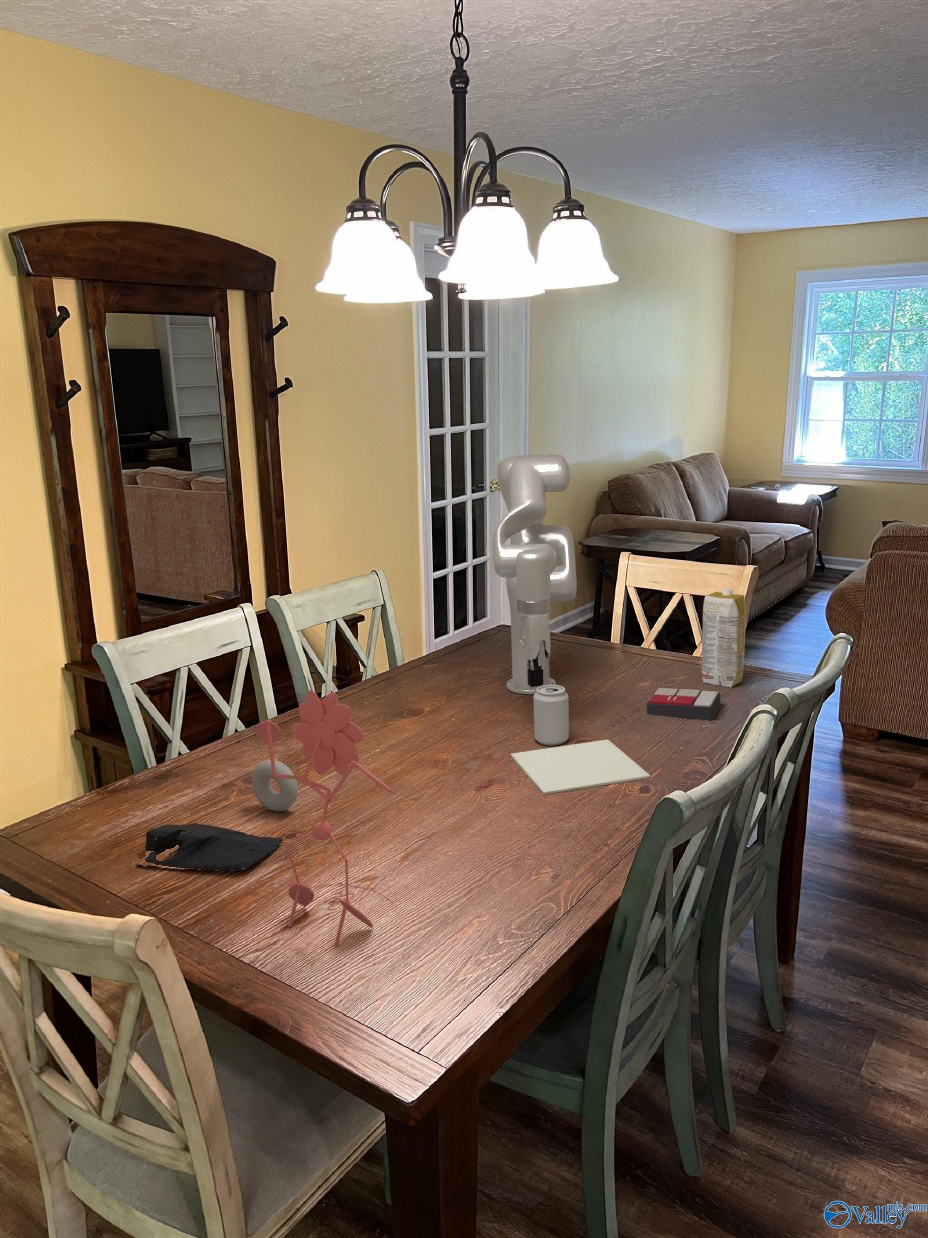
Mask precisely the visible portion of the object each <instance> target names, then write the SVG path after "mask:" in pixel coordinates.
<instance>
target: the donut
mask: <svg viewBox="0 0 928 1238" xmlns="http://www.w3.org/2000/svg"><path fill="white" fill-rule="evenodd" d="M274 762H275V771H276V773H275V774H283V775H294V776H295V774H294V773H293V771H292V770H291V769H290V767H289V766H287V765H286V764H285V763H284V762H282V761H279V760H277V759H274ZM273 775H274V774H272V768H271V760H270V759H267V760H265V761H262V762H259V764H258V765H257V766H255V768H254V770H253V772H252V775H251V786H252V792H253V795H254V796H255V798H256V799H257V801H258V802H259V803H260V805H262V806H263V807H264V808H265V809H267V810H269V809H270V811H272V810H274V811H273V812H280V811H282V812H284V811H286V810H289V809H290V808H291V807H293V805H294V804H295V803H296V801H297V799H298V796H299V784H298V781H297V779H285V778H274V777H273ZM271 779H273V780H274V781H276V783H277V785H278V787H279V793H278V792H276V791H275V790H274V789H273V788H272V786H271V783H270V781H271Z"/></svg>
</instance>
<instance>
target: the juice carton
mask: <svg viewBox="0 0 928 1238" xmlns="http://www.w3.org/2000/svg"><path fill="white" fill-rule="evenodd" d="M733 592H734V591H733V589H729V588H728V589H727V588H723V589H722V590H721V591H714V592H712V593H709V594H707V595H705V597H704V600H703V607H702V608H703V609H702V633H701V634H702V636H701V637H702V640H701V641H702V642H701V644H702V645H701V675H702V676H701V677H702V683H704V684H707V683H708V684H707V685H713V686H717V687H719V686H720V687H724V688H728V687H729V688H733V687H735V686H736V685H738V684H739V683H741V681H742V679H743V676H744V675H743V674H744V669H745V668H744V664H745V645H746V644H745V639H746V638H745V637H746V617H747V615H746V614H747V613H746V612H747V611H746V610H747V609H746V608H747V607H746V599H745V595H744V594H737V593H736V594H733Z"/></svg>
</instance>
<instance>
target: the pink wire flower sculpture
mask: <svg viewBox="0 0 928 1238" xmlns="http://www.w3.org/2000/svg"><path fill="white" fill-rule="evenodd" d="M298 713H299V718H300V720H301V722H300V721H299V722H295V723H292V725H291V728H290V730H291V733H292V735H293V736H294V737H295V739H296V740H297V741H298V742H299V743H301V744H302V749H301V751H302V755H303V756H304V757H305V758H308V759H309V761H308V763H307V765H306V767H305V770H304V772H303V775H295V774H294V775H283V774H275V773H276V771H275V762H274V760H275V755H274V754H275V753H274V747H273V743H274V742H277V741H278V740H280V737H281V735H282V729H281V728H280V727H279V725H278V724H277V723H275V722H272V720H271V719H266V720H262V721H260V722H259V723H258V724H256V725H255V729H254V733H255V735H256V737H257V738H258V739H259V740H260V741H262V742H263V743H264V744H265V745H268V748H269V749H268V750H269V760H271V768H272V774H274V775H273V777H274V778H285V779H296V780H299V783H301V784H305V785H307V786H308V787H309V788H310V789H312V790H313V791H314V792H316V793H317V794H318V795H319V796H321V797H322V798H323V799H325V803H324V808H323V813H322V814H323V815H322V820H320V821H317V822H316V823H314V825H313V827H312V832H309V833H306V834H305V835H304V836H301V837H299V838H297V839H295V840H294V841H292V842H290V843H287V844H286V851H287V853H288V857H289V860H290V863H291V866H292V869H293V872H294V876H295V877H294V878H295V880H296V883H293V884H291V885H290V887H289V888H288V892H287V893H288V896H289V897H290V898H291V900H292V901H293V903H292V907H291V911H290V915H289V920H288V924H287V927H288V928H292V926H293V923H294V919H295V914H296V909H297V905H298V904H299V905H300V906H302V907H307V906H308V905H310V904H311V903H312V902H313V901H314V898H315V893H314V891H313V889H312V888H318V887H329V886H331V884H326V885H325V884H323V885H320V884H319V885H315V886H309V885H306V884H304V883H302V882H301V881H300V878H299V874H298V872H297V868H296V865H295V861H294V858H293V855H292V850H291V847H290V846H292V845H294V844H297V843H298V842H300V841H302V840H305V839H306V838H309V837H310V836H313V837H314V839H316V840H318V841H325V840H327V839H328V838H330V839H331V841H332V842H333V844H334V845H335V847H336V848H337V850H338V852H339V853H340V855H341V857H342V859H343V860H344V867H345V871H344V872H345V873H344V874H345V884H343V882H337V885H341V886H345V900H344V899H341V898H340V899H339V901H338V902H339V904H340V905H341V906H342V911H341V915H340V919H339V924H338V928H337V932H336V936H335V941H334V946H336V947H337V946H339V944H340V938H341V935H342V931H343V925H344V922H345V918H346V913H347V911H348V912H349V913H350V914H351V915H352V916H354V917H355V918H356V919H358V920H359V921H361V922H362V923H364V924H366V926H368V927H369V928H371V929H372V928H374V925H373V923H372V922H371V921H370V919H369V918H368V917H367V916H366V915H365V914H363V912H361V910H359V909H357V908H356V907H355V906H353V905H352V904H351V901H349V887H355V888H361V889H365V890H369V891H372V892H374V893H376V894H378V895H380V896H382V897H384V898H386V899H388V901H389V902H391V903H392V904H394V902H393V901H392V900H391V899H389V897H387V896H385V895H384V894H382V893H381V892H378V891H376V890H375V888H373V887H370V886H367V885H365V887H363V886H357V885H351V884H349V863H348V858H347V857H346V855H345V854H344V852H343V850H342V849H341V847H340V846H339V844H338V842H337V840H336V839H335V837H334V836H333V834H332V826H331V825H330V824H329V823H328V822H327V821H326V816H327V813H328V808H329V804H330V803H331V802H332V800H333V798H335V796H336V794H338V791H339V790H340V789H341V787H342V786H343V784H344V783H345V781H346V780H347V778H348V777H349V775H351V772H352V771H353V770H354V768H357V769H358V770H359V771H361V772H362V773H363V774H365V775H366V776H367V777H368V778H369V779H371V780H372V781H373V782H374V783H376V784H377V785H379V786H380V787H382V788H383V789H384V790H385V791H387V792H389V793H391V794H393V795H394V794H395V791H394V790H393V789H392V788H390V787H389V786H388V785H387V784H386V783H385V782H383V781H382V780H381V779H379V778H378V777H377V776H376V775H375V774H373V773H372V772H370V771H369V770H368V769H366V768H365V767H364V766H363V765H361V764H360V763H359V760H360V756H359V752H358V749H357V747H356V745H355V744H357V743H361V742H362V741H364V736H365V735H364V733H363V731H362V730H361V728H360V727H359V725H357V724H355V723H354V722H353V721H351V718H352V717H353V710H352V708H351V707H350V706H349V705H347V704H345V703H344V704H343V703H340V700H339V696H338V695H337V693H336V692H330V693H328V694H327V695H325V697H324V698H323V699H322V700H320V698H319V696H318V694H317V693H316V692H315V691H314V690H308V692H307V693H306V695H305V699H304V702H301V703H300V704H299V705H298ZM312 765H313V766H314V771H315V772H316V774H318V775H321V776H322V775H324V774H326V773H328V771H329V770H330V769H331V768H334V770H335V771H336V773H338V774H339V775H340V776H341V778H340V780H339V781H338V783H337V784H336V786H335V787H334V789H333V791H332V790H331V788H330V787H328V786H326V785H323V784H320V783H317V782H315V781H311V780H309V779H308V778H309V777H308V776H309V773H310V771H311V768H312ZM332 766H333V767H332ZM321 790H324V791H326V793H324V792H323V791H321ZM367 887H368V888H367ZM372 956H374V953H372V954H370V955H369V956H366V957H364V958H362V961H364V960H366V959H368V958H370V957H372Z"/></svg>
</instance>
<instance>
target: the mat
mask: <svg viewBox="0 0 928 1238" xmlns="http://www.w3.org/2000/svg"><path fill="white" fill-rule="evenodd" d="M510 757H511V758H512V759H513V760H514V761H515V762H516V764H517V765H518V767H520V768H521V770H522V771H523V772H524V773H525V774H526V775H527V776H528V778H529V780H531V781H532V783H533V784H534V785H535V786H536V788H537V789H538V790H539V791H540V792H541V793H542V794H543V796H545V795H553V794H556V793H558V794H559V793H565V792H569V791H575V790H576V791H577V790H582V789H588V788H589V789H590V788H594V787H601V786H606V785H613V784H619V783H625V782H631V781H632V782H633V781H638V780H644V779H650V778H651V775H650V774H649V773H648V772H647V771H646V770H644V769H643V768H642V767H641V766H640V765H639V764H637V763H636V762H635V761H634V760H633V759H632V758H630V757H629V756H628V755H627V754H626V753H625V752H623V751H622V750H621V749H620V748H619V747H617V746H616V745H615V744H614V743H612V742H611V741H610V739H601V740H595V741H588V742H583V743H581V742H580V743H575V744H567V745H561V746H556V747H555V746H554V747H548V748H547V747H546V748H540V749H535V750H527V751H521V752H520V751H519V752H514V753H510Z"/></svg>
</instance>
